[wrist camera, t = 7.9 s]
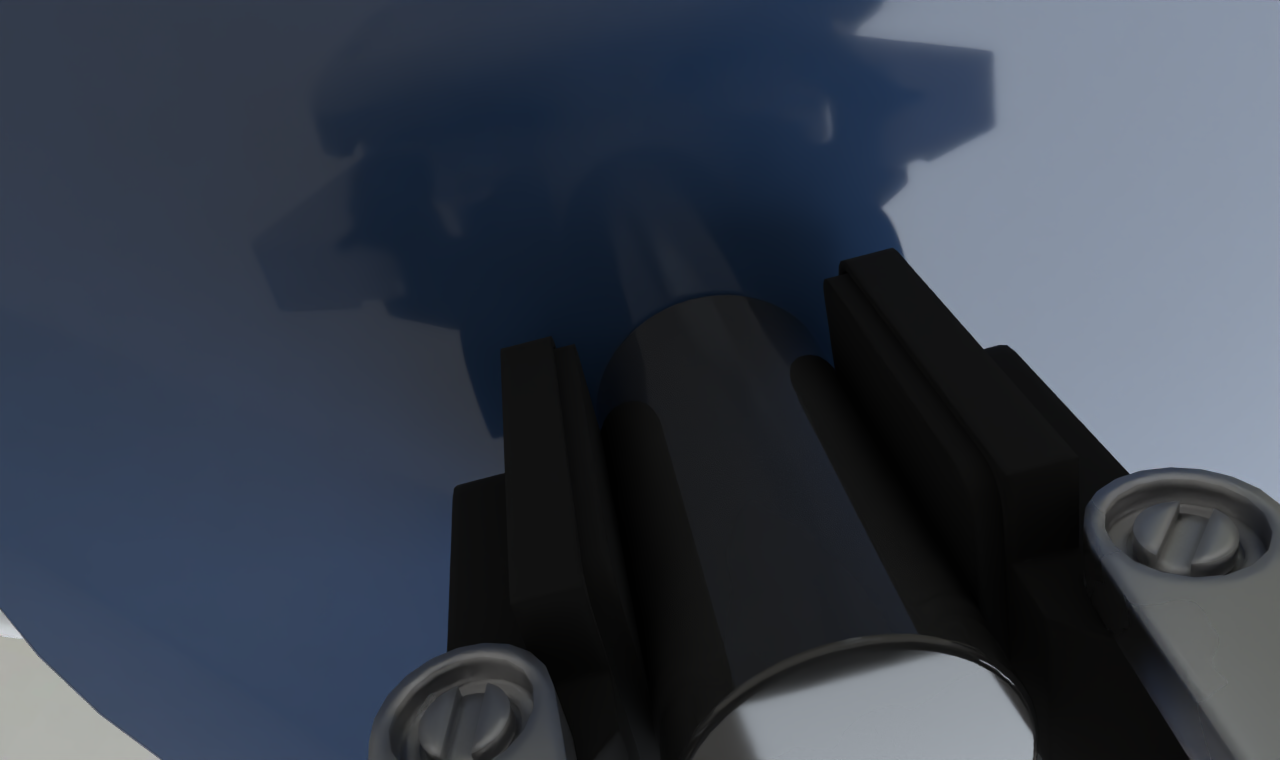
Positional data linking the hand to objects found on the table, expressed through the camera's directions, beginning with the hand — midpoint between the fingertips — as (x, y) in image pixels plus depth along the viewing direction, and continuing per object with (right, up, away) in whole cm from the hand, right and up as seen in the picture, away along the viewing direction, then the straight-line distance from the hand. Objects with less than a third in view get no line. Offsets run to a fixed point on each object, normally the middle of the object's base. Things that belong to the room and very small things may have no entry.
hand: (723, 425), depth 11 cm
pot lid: (0, +1, +1) cm, 1 cm away
